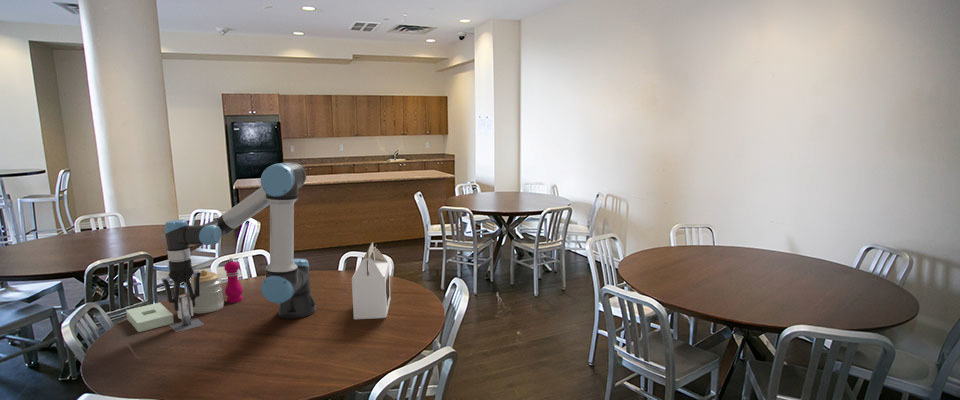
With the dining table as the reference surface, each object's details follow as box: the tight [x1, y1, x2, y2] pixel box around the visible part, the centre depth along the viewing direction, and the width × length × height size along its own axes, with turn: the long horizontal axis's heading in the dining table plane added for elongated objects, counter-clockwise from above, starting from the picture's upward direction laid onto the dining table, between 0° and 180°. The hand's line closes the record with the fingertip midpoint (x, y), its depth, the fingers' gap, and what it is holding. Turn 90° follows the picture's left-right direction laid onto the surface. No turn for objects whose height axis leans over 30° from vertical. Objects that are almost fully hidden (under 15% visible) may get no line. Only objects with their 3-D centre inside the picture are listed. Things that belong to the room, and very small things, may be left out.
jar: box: [189, 269, 225, 314], centre depth 213 cm, size 13×13×18 cm
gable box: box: [351, 242, 391, 320], centre depth 209 cm, size 22×13×28 cm, turn 6°
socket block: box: [125, 302, 175, 333], centre depth 200 cm, size 20×12×4 cm, turn 46°
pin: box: [178, 294, 192, 326], centre depth 195 cm, size 3×3×12 cm
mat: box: [168, 317, 205, 333], centre depth 196 cm, size 10×10×1 cm
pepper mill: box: [223, 257, 244, 304], centre depth 222 cm, size 7×7×20 cm
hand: (185, 316), depth 195 cm, fingers open, 3 cm apart
